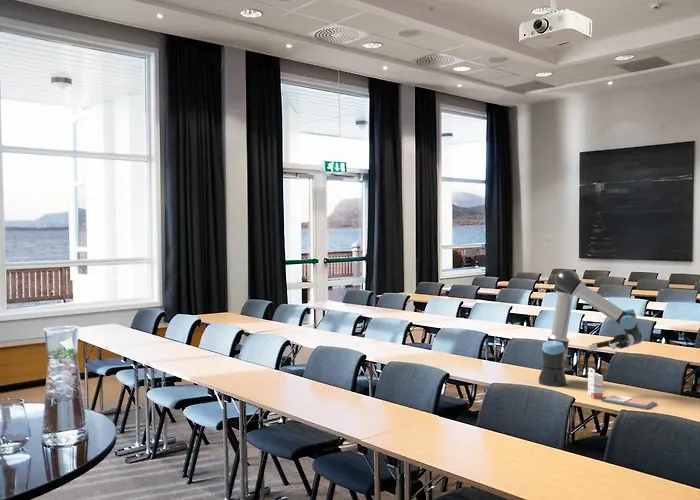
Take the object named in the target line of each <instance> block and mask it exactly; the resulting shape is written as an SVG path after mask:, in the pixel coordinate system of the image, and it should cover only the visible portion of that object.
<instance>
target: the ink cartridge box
mask: <svg viewBox="0 0 700 500" xmlns="http://www.w3.org/2000/svg"><path fill="white" fill-rule="evenodd" d="M603 395H604V375H602V374H599V373H598V372H596V370H595V369H594V368H592V367H591V366H590V367H588V372H587V396H589V397H591V398H592V399H595V400H597V399H599V400H603V399H604V398H603V397H604V396H603Z"/></svg>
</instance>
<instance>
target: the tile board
mask: <svg viewBox="0 0 700 500" xmlns="http://www.w3.org/2000/svg"><path fill="white" fill-rule="evenodd" d="M601 401H602V403H609V404H613V405H619V406H623V407H624V406H625V407H631V408H636V409H643V410H648V409H650V408H653V407H655V406H656V405H658V402H656V401H652V400H648V399H642V398H636V397H635V398H634V397H629V396H623V395H619V394H612V395H610V396H607V397H605V398H603V399H601Z"/></svg>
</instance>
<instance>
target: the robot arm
mask: <svg viewBox="0 0 700 500" xmlns="http://www.w3.org/2000/svg"><path fill="white" fill-rule="evenodd" d="M555 275H556V276H555V279H554V281H555V284H556V285H555V292H556V294H557V296H556V297H557V298H556V304H555V309H554V310H555V311H554V316H553V322H552V327H551V328H552V329H551V334H550V335H548V337H547V341H544V342H543V343H542V347H541V349H542V354H541V356H542V359H541V360H542V363H541V365H542V366H541V367H542V368H541V371H540V375H539V376H538V383H539V384H541V385H543V386H544V385H545V386H549V387H565V386H567V383H568V381H567V377H566V374H565V369H564V367H565V359H566V358H567V356H568V354H569V343H570V340H569V339H568V329H569V326H570V320H571V319H570V318H571V312H572V306H573V300H574V297H577V298H579V299H580V300H582V301H583V302H585V303H586V304H588V305H589V306H591V307H592V308H594V309H595V310H597V311H598V312H600V313H602V314H603V315H604V316H606V317H608V318H609V319H610V320H612V321H614V322H615V323H616V324H618V325H619V326H620V327H622V328H623V333H619V334H616V335H614V337H613V339H609V340H603V341H601V342H600V341H599V342H596V343H595V342H593V343H592V344H589V345H588V351H589V352H591V351H594V350H595V351H598V350H597V349H602V348H607V347H608V348H610V349H611V350H615V349H624V348H627V349H628V348H629V347H632V346H635V345H638V344H640V343H642V342H643V341H644V339H645V334H644V333H643V331H642V330H640V328H639V324H638V320H637V316H636V315H637V314H636V312H635V310H634V309H633V308H631V309H622V308H620V307H619V306H617V305H616V304H614V303H613V302H611V301H609V300H608V299H607V298H605V297H604V296H602V295H600V294H599V293H598V292H596V291H595V290H593V289H591V288H590V287H588V286H587V285H585V284H584V283H583V280H581V279H580V277H579V275H578V273H577V272H576V271H574V270H573V269H564V270H563V269H562V270H560V271H559V272H558V273H556V274H555Z"/></svg>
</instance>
